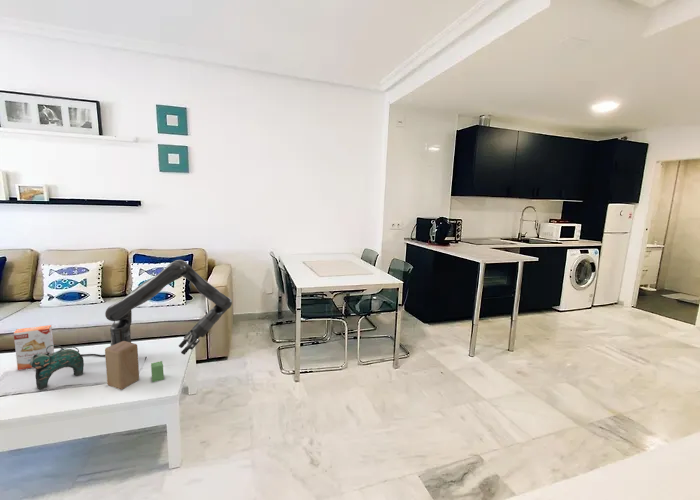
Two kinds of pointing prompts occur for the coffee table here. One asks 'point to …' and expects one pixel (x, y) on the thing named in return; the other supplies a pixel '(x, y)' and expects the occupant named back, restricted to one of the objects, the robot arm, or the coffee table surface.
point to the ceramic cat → (55, 364)
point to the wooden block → (122, 364)
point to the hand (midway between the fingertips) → (181, 350)
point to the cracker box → (32, 344)
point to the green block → (157, 371)
